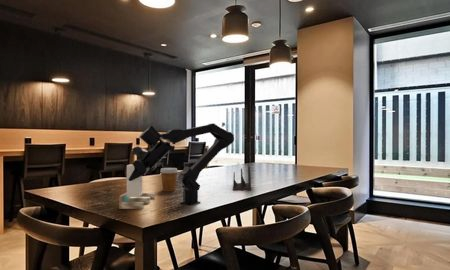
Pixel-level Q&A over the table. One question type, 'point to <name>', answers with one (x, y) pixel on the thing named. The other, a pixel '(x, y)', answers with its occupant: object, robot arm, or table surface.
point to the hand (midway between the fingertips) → (131, 179)
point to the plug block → (133, 183)
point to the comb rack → (135, 201)
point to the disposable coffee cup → (168, 178)
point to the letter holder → (243, 182)
